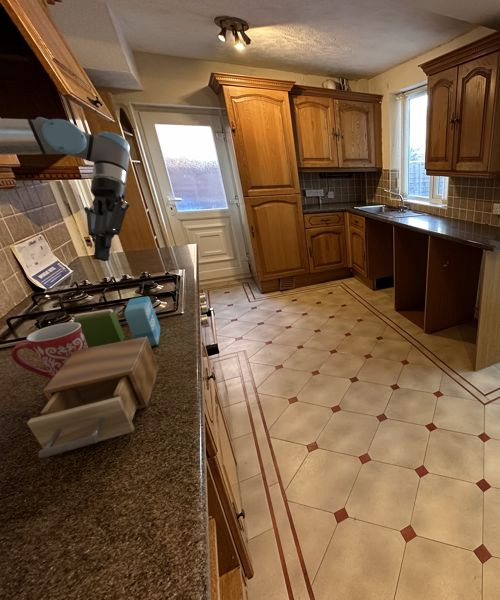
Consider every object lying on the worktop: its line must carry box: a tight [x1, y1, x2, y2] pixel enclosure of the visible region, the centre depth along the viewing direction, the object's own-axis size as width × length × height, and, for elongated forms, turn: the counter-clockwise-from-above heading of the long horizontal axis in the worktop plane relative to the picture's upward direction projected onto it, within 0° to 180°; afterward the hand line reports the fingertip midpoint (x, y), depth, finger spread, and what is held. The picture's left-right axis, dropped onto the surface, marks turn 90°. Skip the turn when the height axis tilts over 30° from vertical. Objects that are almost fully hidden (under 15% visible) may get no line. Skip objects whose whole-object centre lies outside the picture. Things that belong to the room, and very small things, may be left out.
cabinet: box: [42, 337, 160, 411], centre depth 72 cm, size 16×14×10 cm
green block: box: [72, 308, 126, 348], centre depth 93 cm, size 4×8×10 cm, turn 117°
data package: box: [123, 295, 161, 347], centre depth 94 cm, size 12×4×12 cm, turn 31°
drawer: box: [26, 375, 139, 460], centre depth 62 cm, size 21×12×8 cm, turn 26°
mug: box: [10, 321, 88, 380], centre depth 76 cm, size 13×9×14 cm
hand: (101, 259), depth 89 cm, fingers closed
